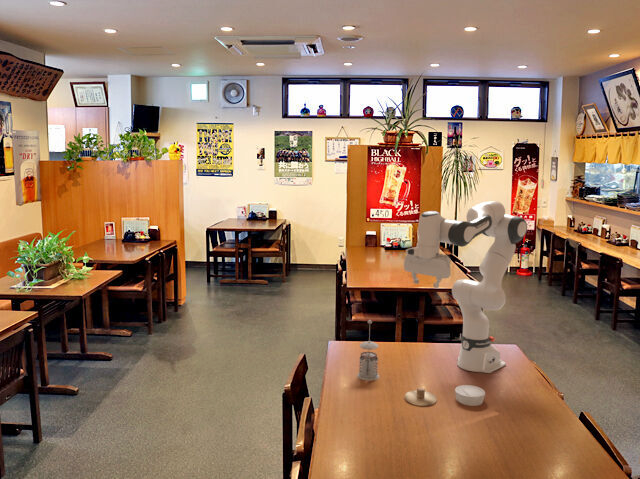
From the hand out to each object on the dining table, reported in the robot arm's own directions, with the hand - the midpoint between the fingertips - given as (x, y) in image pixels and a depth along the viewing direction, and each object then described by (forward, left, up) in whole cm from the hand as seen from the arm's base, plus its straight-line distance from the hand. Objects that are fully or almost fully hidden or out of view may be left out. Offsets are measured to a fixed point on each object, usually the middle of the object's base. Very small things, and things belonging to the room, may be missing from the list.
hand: (425, 285), depth 228 cm
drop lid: (+12, +13, -41) cm, 45 cm away
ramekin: (-4, +23, -43) cm, 48 cm away
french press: (+15, -17, -43) cm, 48 cm away
